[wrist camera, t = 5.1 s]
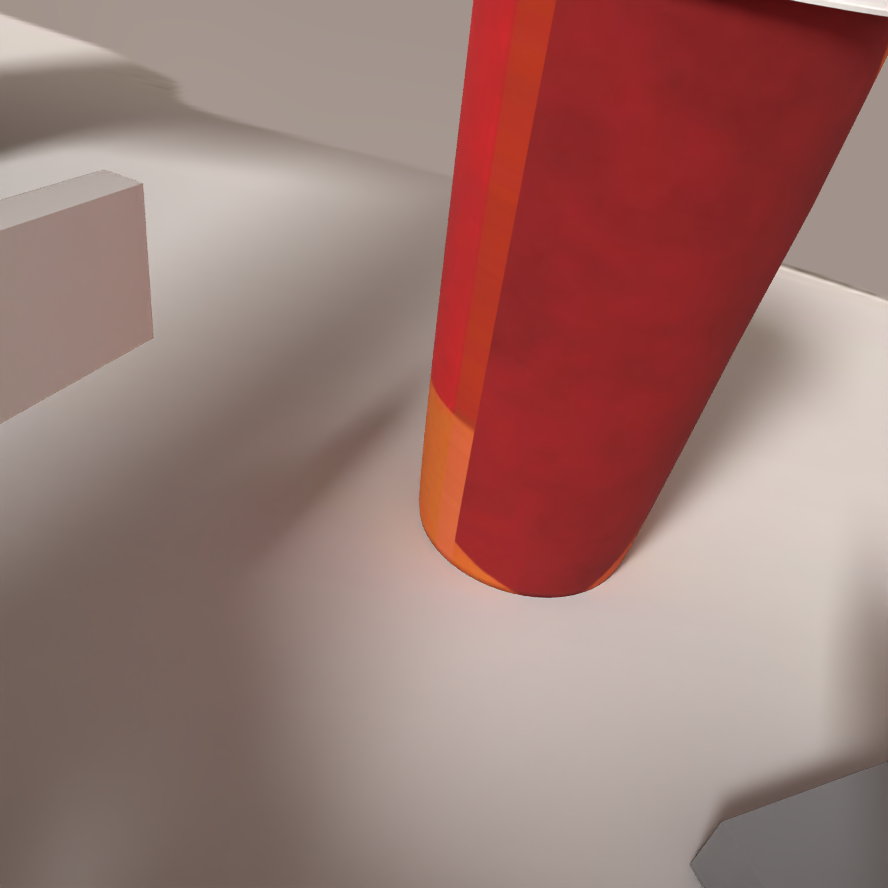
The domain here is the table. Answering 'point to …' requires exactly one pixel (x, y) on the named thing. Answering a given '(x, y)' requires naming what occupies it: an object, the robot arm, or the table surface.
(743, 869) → the collar board
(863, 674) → the table surface
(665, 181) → the paper cup
